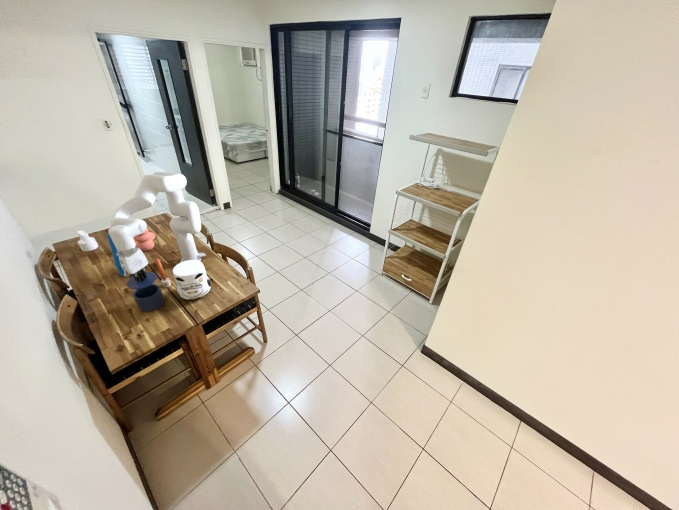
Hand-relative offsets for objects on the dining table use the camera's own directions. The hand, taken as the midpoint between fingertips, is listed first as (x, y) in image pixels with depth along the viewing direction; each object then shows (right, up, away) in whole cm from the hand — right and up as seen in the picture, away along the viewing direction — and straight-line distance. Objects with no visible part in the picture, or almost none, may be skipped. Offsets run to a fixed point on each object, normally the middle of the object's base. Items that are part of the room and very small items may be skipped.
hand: (141, 279), depth 141 cm
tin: (-1, -14, +9) cm, 17 cm away
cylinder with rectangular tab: (-72, +17, +49) cm, 89 cm away
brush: (-1, -6, +22) cm, 23 cm away
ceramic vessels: (-42, +22, +59) cm, 75 cm away
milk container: (+18, -9, +19) cm, 28 cm away
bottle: (-30, +1, +30) cm, 43 cm away
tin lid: (0, -1, +1) cm, 1 cm away
